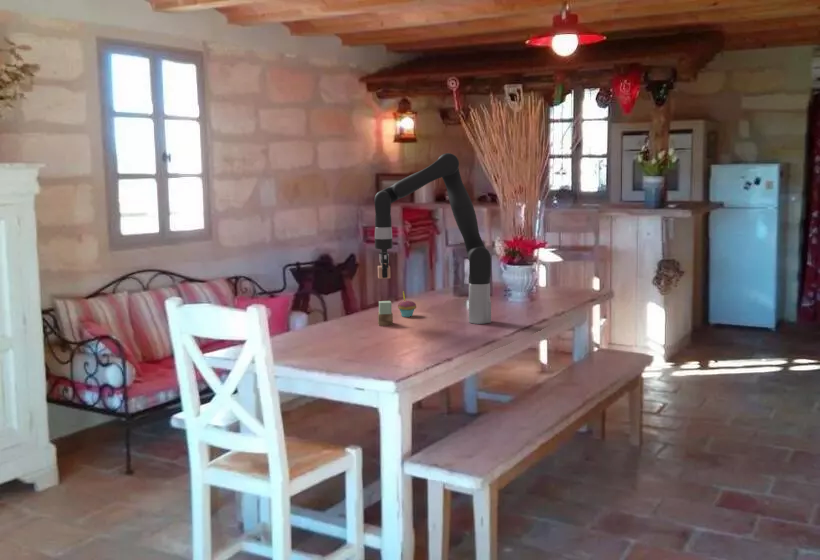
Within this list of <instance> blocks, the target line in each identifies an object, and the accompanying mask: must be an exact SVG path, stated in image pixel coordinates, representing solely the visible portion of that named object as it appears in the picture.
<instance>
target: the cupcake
mask: <svg viewBox="0 0 820 560" xmlns="http://www.w3.org/2000/svg"><path fill="white" fill-rule="evenodd" d="M405 296H406V295H405V291H402V297H403V300H402V301H401V302H399V303H398V304H397V309H398V310H399V311H400V314H401V317H402V318H403V317H404V318H411V317H413V315H414V312H415V310H416V309H417V304H416V303H415V302H414V301H412V300H406V297H405ZM410 316H411V317H410Z"/></svg>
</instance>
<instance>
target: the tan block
mask: <svg viewBox="0 0 820 560" xmlns="http://www.w3.org/2000/svg"><path fill="white" fill-rule="evenodd" d="M387 274H388V277H387V278H383V277H382V266H380V265H377V278H378V279H379V280H381V279H382V280H383V279H391V278H392V277H391V266H390V265H388V269H387Z"/></svg>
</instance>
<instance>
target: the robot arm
mask: <svg viewBox="0 0 820 560" xmlns="http://www.w3.org/2000/svg"><path fill="white" fill-rule="evenodd" d="M459 167H460V161H459V159H458V156H456V154H453V153H443V154H441V155H440V156H438V159H437V160H435V161H434V162H433V163H431V164H430V165H429V166H428V165H427V167H425V168H423V169H422V170H419V171H417V172H414V173H412V174H410V175H408V176H406V177H404V178H402V179H400V180H398V181H397V182H394V184H392V185H390V186H388V187H385V188H384V189H382V190H380V191H378V192H377V193H376V194H375V196H374V212H375V216H374V248H375V249H376V250H380V251H379V253H378V256H379V258H378V259H379V260H378V261H379V266H382V277H383V278H387V277H388V274H387V269H388V266H389V257H390V254H389V252H388V250H391V249H393V228H392V215H391V209H392V205H391V204H393V203H395V202H396V201H398V200H399V199H402V198H405V197H407V196H409V195H411V194H413V193H415V192H416V191H418V190H420V189H421V188H423V187H424V186H426V185H428V184H429V183H431V182H434V181H436V180H438V179H440V178H441V179H442V180H443V182H444V185H445V188H446V192H447V196H448V197H447V198H448V201H449V205H450V208H451V211H452V215H453V217H454V220H455V222H456V225H457V227H458V230H459V232H460V235H461V236H462V240H463V241H464V246H465V249H466V255H467V256H466V257H467V260H468V262H469V263H468V264H469V267H468V269H469V273H468V323H470V324H475V325H477V324H478V325H479V324H480V325H481V324H482V325H483V324H491V323H492V301H491V275H492V270H491V269H492V257H491V253H490V251H489V250H488V248H486V246H485V244H484V242H483V240H482V237H481V234H480V231H479V226H478V225H479V224H478V219H477V215H476V210H475V207H474V204H473V202H472V200H471V197H470V195H469V193H468V191H467V189H466V186H465V185H464V183H463V181H462V177H461V173H460V168H459Z"/></svg>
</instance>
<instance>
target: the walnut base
mask: <svg viewBox="0 0 820 560" xmlns="http://www.w3.org/2000/svg"><path fill="white" fill-rule="evenodd" d="M393 317H394V315H393V313H392V314H380V313H379V311H378V312H377V324H378V326H381V327H382V326H383V327H384V326H393V325H394V322H393V321H394V318H393Z"/></svg>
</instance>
